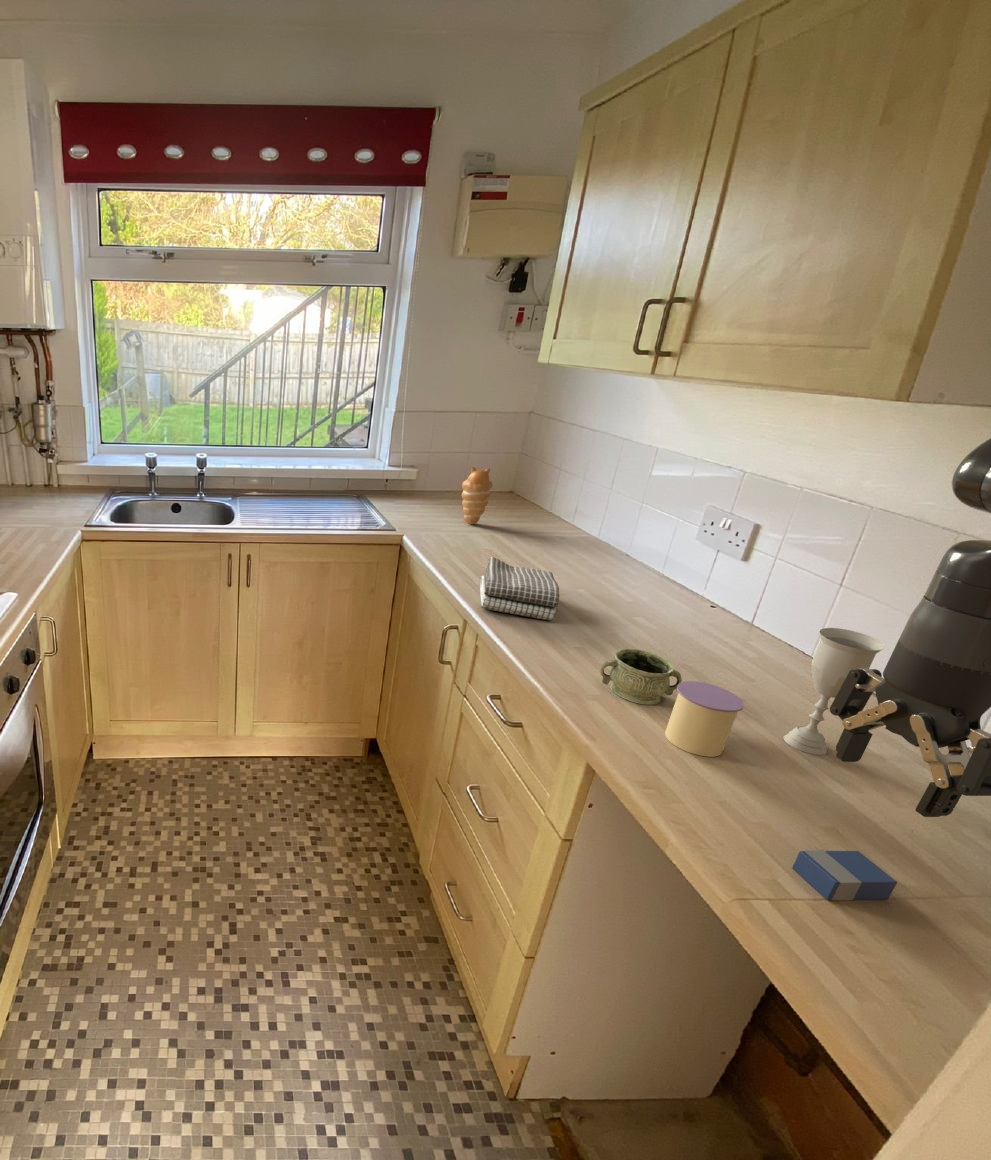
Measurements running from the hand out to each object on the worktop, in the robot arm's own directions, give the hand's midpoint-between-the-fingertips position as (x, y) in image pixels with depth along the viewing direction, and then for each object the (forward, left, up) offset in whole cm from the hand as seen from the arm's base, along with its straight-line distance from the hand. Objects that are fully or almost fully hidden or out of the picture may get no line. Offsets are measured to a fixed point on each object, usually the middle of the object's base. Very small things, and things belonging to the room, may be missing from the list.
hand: (884, 785), depth 67 cm
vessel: (+18, -36, -14) cm, 43 cm away
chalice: (-4, -32, -14) cm, 35 cm away
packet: (0, 0, -14) cm, 14 cm away
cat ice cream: (+58, -128, -14) cm, 141 cm away
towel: (+39, -67, -14) cm, 79 cm away
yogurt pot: (+11, -24, -14) cm, 30 cm away
